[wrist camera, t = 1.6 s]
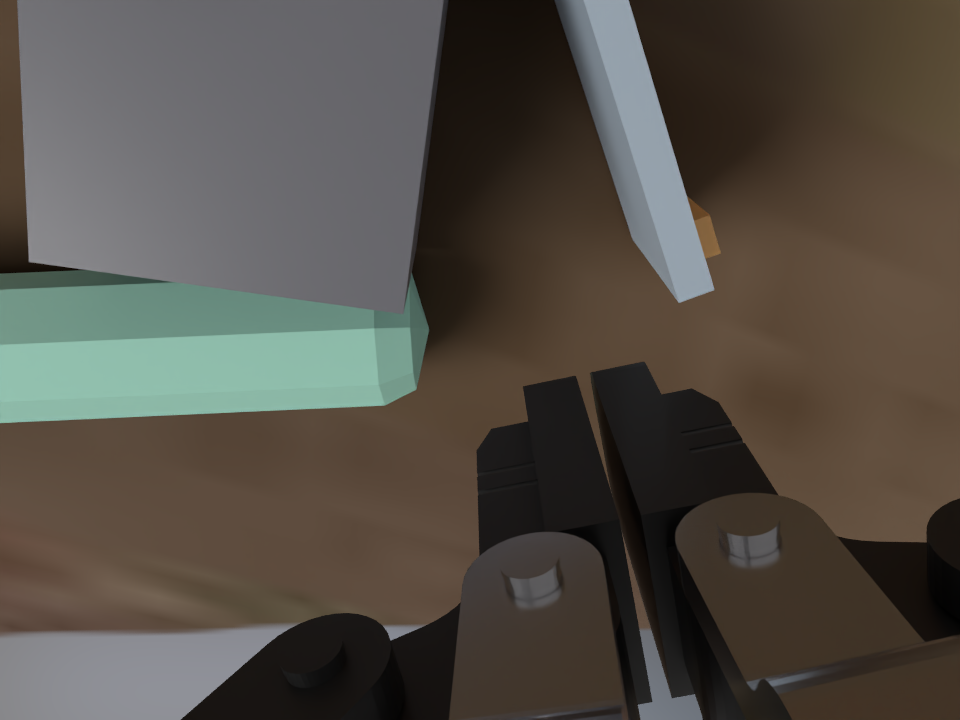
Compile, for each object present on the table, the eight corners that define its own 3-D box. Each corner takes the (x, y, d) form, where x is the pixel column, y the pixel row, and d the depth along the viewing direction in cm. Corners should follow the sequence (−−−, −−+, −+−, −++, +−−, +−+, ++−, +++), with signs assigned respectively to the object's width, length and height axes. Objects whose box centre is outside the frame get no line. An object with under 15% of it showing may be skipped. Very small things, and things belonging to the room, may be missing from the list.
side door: (479, -217, 25) (485, -301, 18) (541, -245, 24) (571, -341, 18) (629, 239, 30) (677, 306, 23) (682, 219, 30) (745, 281, 23)
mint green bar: (423, 323, 25) (-457, 362, 24) (434, 452, 29) (-317, 488, 29) (423, 205, 29) (-328, 236, 29) (433, 333, 33) (-223, 362, 33)
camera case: (124, -285, 24) (-24, -413, 17) (477, -220, 25) (482, -314, 18) (124, 205, 29) (12, 271, 22) (416, 248, 30) (400, 325, 23)
